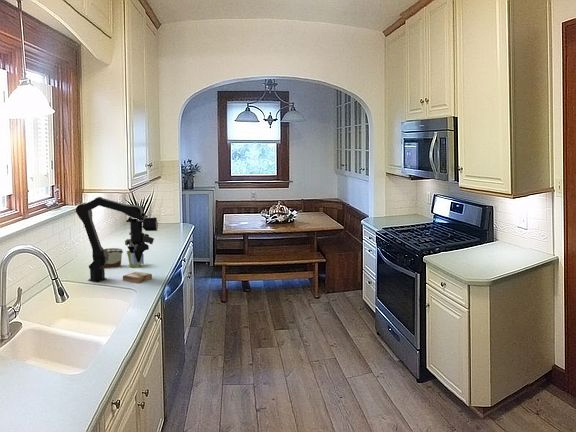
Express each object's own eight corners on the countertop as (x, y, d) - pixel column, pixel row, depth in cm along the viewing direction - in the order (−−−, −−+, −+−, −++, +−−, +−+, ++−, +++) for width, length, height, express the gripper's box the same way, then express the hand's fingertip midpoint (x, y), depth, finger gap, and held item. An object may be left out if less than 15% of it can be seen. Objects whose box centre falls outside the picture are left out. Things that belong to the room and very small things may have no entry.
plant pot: (125, 268, 281) (125, 253, 280) (127, 264, 290) (127, 249, 289) (143, 268, 283) (142, 252, 282) (144, 264, 292) (144, 249, 291)
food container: (122, 264, 290) (121, 247, 289) (123, 266, 285) (123, 249, 284) (99, 266, 285) (98, 248, 284) (100, 268, 280) (99, 250, 278)
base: (138, 283, 252) (138, 278, 251) (122, 280, 256) (122, 275, 255) (151, 278, 261) (151, 273, 260) (136, 276, 265) (136, 271, 264)
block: (143, 263, 256) (143, 253, 256) (133, 264, 254) (133, 254, 253) (140, 261, 260) (140, 252, 260) (130, 262, 258) (130, 253, 257)
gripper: (158, 232, 252) (159, 263, 254) (145, 227, 267) (146, 256, 269) (136, 234, 245) (137, 265, 248) (124, 228, 261) (125, 258, 263)
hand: (136, 261), depth 257 cm, fingers closed on block, 5 cm apart
